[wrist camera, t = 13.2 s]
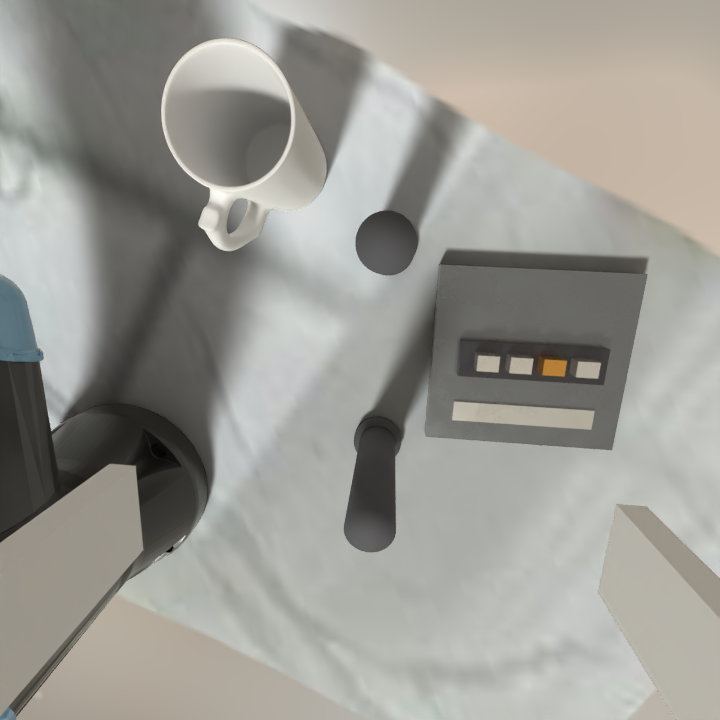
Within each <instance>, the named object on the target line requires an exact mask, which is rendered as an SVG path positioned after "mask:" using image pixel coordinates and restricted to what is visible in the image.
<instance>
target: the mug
mask: <svg viewBox="0 0 720 720" xmlns="http://www.w3.org/2000/svg"><path fill="white" fill-rule="evenodd" d="M161 118H162V126H163V131H164V135H165V138H166V141H167V144H168V146H169V149H170V151H171V153H172V154H173V156H174V158H175V159H176V161H177V162H178V164H179V165H180V166H181V167H182V168H183V170H184V171H185V172H186V173H187V174H188V175H190V176H191V177H192V178H193V179H195V180H196V181H197V182H199V183H201V184H202V185H204V186H206V187H209V189H210V198H209V201H208V204H207V205H206V206H205V207H204V209H203V211H202V214H201V217H200V219H199V222H198V224H199V226H200V227H201V228H202V229H204V230H205V232H206V233H207V235H208V237H209V238H210V240H211V241H212V243H213V244H214V245H215V246H216V247H218V248H219V249H221V250H224V251H233V250H236V249H239V248H241V247H242V246H244V245H245V244H247V243H248V242H250V241H251V240H253V239H254V238H256V237H258V236H259V235H260V233H261V231H262V228H263V225H264V222H265V220H266V217H267V215H268V213H269V212H270V211H271V210H272V209H276V210H279V211H295V210H299V209H302V208H304V207H306V206H307V205H309V204H310V203H311V202H313V201H314V200H315V199H316V197H317V196H318V195H319V193H320V192H321V190H322V188H323V186H324V183H325V179H326V173H327V164H326V158H325V154H324V151H323V149H322V146H321V144H320V142H319V140H318V138H317V136H316V134H315V132H314V130H313V128H312V126H311V125H310V123H309V121H308V119H307V117H306V115H305V113H304V111H303V109H302V107H301V105H300V103H299V101H298V99H297V97H296V96H295V94H294V92H293V90H292V88H291V87H290V85H289V83H288V81H287V79H286V77H285V75H284V74H283V72H282V71H281V69H280V68H279V66H278V65H277V64H276V63H275V61H274V60H273V59H272V58H271V57H270V56H269V55H268V54H266V53H265V52H264V51H263V50H261V49H260V48H258V47H257V46H255V45H253V44H251V43H249V42H246V41H243V40H239V39H234V38H218V39H213V40H209V41H206V42H203V43H201V44H199V45H197V46H195V47H194V48H192V49H191V50H189V51H188V52H187V53H186V54H185V55H184V56H182V58H181V59H180V60H179V61H178V62H177V63H176V65H175V66H174V68H173V69H172V71H171V73H170V75H169V77H168V79H167V82H166V85H165V88H164V91H163V96H162V104H161ZM240 198H244V199H247V200H248V207H247V210H246V213H245V216H244V218H243V220H242V222H241V224H240V225H239V227H238V228H237V229H236V230H235V231H234V232H232V233H230V234H228V232H227V219H228V215H229V211H230V209H231V207H232V205H233V203H234V202H235V201H236V200H237V199H240Z"/></svg>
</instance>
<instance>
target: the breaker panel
mask: <svg viewBox="0 0 720 720" xmlns="http://www.w3.org/2000/svg"><path fill="white" fill-rule="evenodd" d="M646 279H647V274H635V273H614V272H592V271H571V270H549V269H528V268H506V267H485V266H463V265H442V264H439V273H438V284H437V296H436V307H435V318H434V330H433V341H432V353H431V364H430V376H429V387H428V399H427V410H426V422H425V435H426V437H438V438H452V439H465V440H479V441H493V442H507V443H521V444H534V445H548V446H562V447H576V448H590V449H603V450H612V447H613V442H614V437H615V432H616V427H617V422H618V418H619V413H620V408H621V403H622V398H623V393H624V388H625V383H626V378H627V373H628V368H629V363H630V358H631V353H632V348H633V343H634V339H635V334H636V329H637V324H638V319H639V314H640V309H641V304H642V299H643V294H644V289H645V284H646Z"/></svg>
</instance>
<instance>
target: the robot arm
mask: <svg viewBox="0 0 720 720" xmlns="http://www.w3.org/2000/svg"><path fill="white" fill-rule="evenodd" d="M43 359H44V357H43V352H42V350H41V349H39V348H38V347H37V343H36V339H35V334H34V330H33V326H32V322H31V318H30V314H29V309H28V305H27V301H26V299H25V296H24V294H23V293H22V291H21V290H20V288H19V287H18V286H17V285H16V284H15V283H14V282H12V281H11V280H10V279H8V278H6V277H5V276H3V275H1V274H0V720H16V717H17V715H18V714H19V713H20V712H21V710H22V709H23V708H24V707H25V706H26V704H27V703H28V702H29V701H30V699H31V698H32V697H33V696H34V694H35V693H36V692H37V691H38V689H39V688H40V687H41V686H42V684H43V683H44V682H45V681H46V679H47V678H48V677H49V676H50V674H51V673H52V672H53V671H54V669H55V668H56V667H57V666H58V665H59V663H60V662H61V661H62V660H63V658H64V657H65V656H66V655H67V653H68V652H69V651H70V650H71V648H72V647H73V646H74V645H75V644H76V642H77V641H78V640H79V638H80V637H81V636H82V635H83V634H84V632H85V631H86V630H87V628H88V627H89V626H90V625H91V623H92V622H93V621H94V620H95V619H96V617H97V616H98V615H99V614H100V612H101V611H102V610H103V609H104V608H105V606H106V605H107V604H108V603H109V601H110V600H111V599H112V598H113V596H114V595H115V594H116V593H117V592H118V590H119V589H120V588H121V587H122V586H123V584H124V583H125V582H126V581H128V580H129V579H131V578H132V577H134V576H136V575H137V574H139V573H140V572H142V571H143V570H145V569H146V568H148V567H149V566H150V565H151V564H152V563H154V562H157V561H159V560H161V559H163V558H164V557H166V556H168V555H169V554H171V553H172V552H173V551H175V550H176V549H177V548H178V547H179V546H180V545H181V544H182V543H183V542H184V541H185V540H186V538H187V537H188V536H189V534H190V533H191V532H192V530H193V529H194V528H195V526H196V525H197V524H198V522H199V520H200V519H201V517H202V514H203V512H204V509H205V505H206V501H207V479H206V474H205V470H204V467H203V464H202V462H201V459H200V457H199V455H198V453H197V452H196V450H195V448H194V447H193V445H192V444H191V443H190V441H189V440H188V439H187V438H186V436H185V435H184V434H183V433H182V432H181V431H180V430H179V429H178V428H176V427H175V426H174V425H173V424H171V423H170V422H169V421H167V420H166V419H164V418H163V417H161V416H159V415H157V414H155V413H153V412H151V411H148V410H146V409H143V408H140V407H136V406H131V405H124V404H108V405H102V406H97V407H94V408H91V409H88V410H86V411H84V412H82V413H80V414H78V415H76V416H74V417H72V418H70V419H68V420H66V421H64V422H63V423H61V424H60V425H59V426H57V427H56V428H55V429H54V430H52V431H51V428H50V423H49V417H48V412H47V406H46V399H45V393H44V387H43V380H42V374H41V368H40V362H39V361H42V360H43ZM598 594H599V595H600V597H601V599H602V600H603V602H604V604H605V605H606V607H607V609H608V610H609V612H610V613H611V615H612V617H613V618H614V620H615V622H616V623H617V625H618V627H619V628H620V630H621V632H622V633H623V635H624V636H625V638H626V640H627V641H628V643H629V645H630V646H631V648H632V650H633V651H634V653H635V655H636V656H637V658H638V659H639V661H640V663H641V664H642V666H643V668H644V669H645V671H646V673H647V674H648V676H649V677H650V679H651V681H652V682H653V684H654V686H655V687H656V689H657V691H658V692H659V694H660V695H661V697H662V699H663V700H664V702H665V704H666V705H667V707H668V709H669V710H670V712H671V713H672V715H673V717H674V719H675V720H720V578H719V577H718V576H717V575H716V574H715V573H714V572H713V571H712V570H711V569H710V568H709V567H708V566H707V565H706V564H704V563H703V562H702V561H701V560H700V559H699V558H698V557H697V556H696V555H695V554H694V553H693V552H692V551H691V550H690V549H689V548H688V547H687V546H686V545H685V544H684V543H683V542H682V541H681V540H680V539H679V538H678V537H677V536H676V535H675V534H674V533H673V532H672V531H671V530H670V529H669V528H668V527H667V526H666V525H665V524H664V523H663V522H662V521H661V520H660V519H659V518H658V517H657V516H656V515H655V514H654V513H653V512H652V511H651V510H650V509H649V508H648V507H645V506H633V505H620V504H616V507H615V512H614V517H613V522H612V527H611V531H610V536H609V541H608V546H607V550H606V555H605V560H604V565H603V569H602V574H601V579H600V584H599V589H598Z"/></svg>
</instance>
